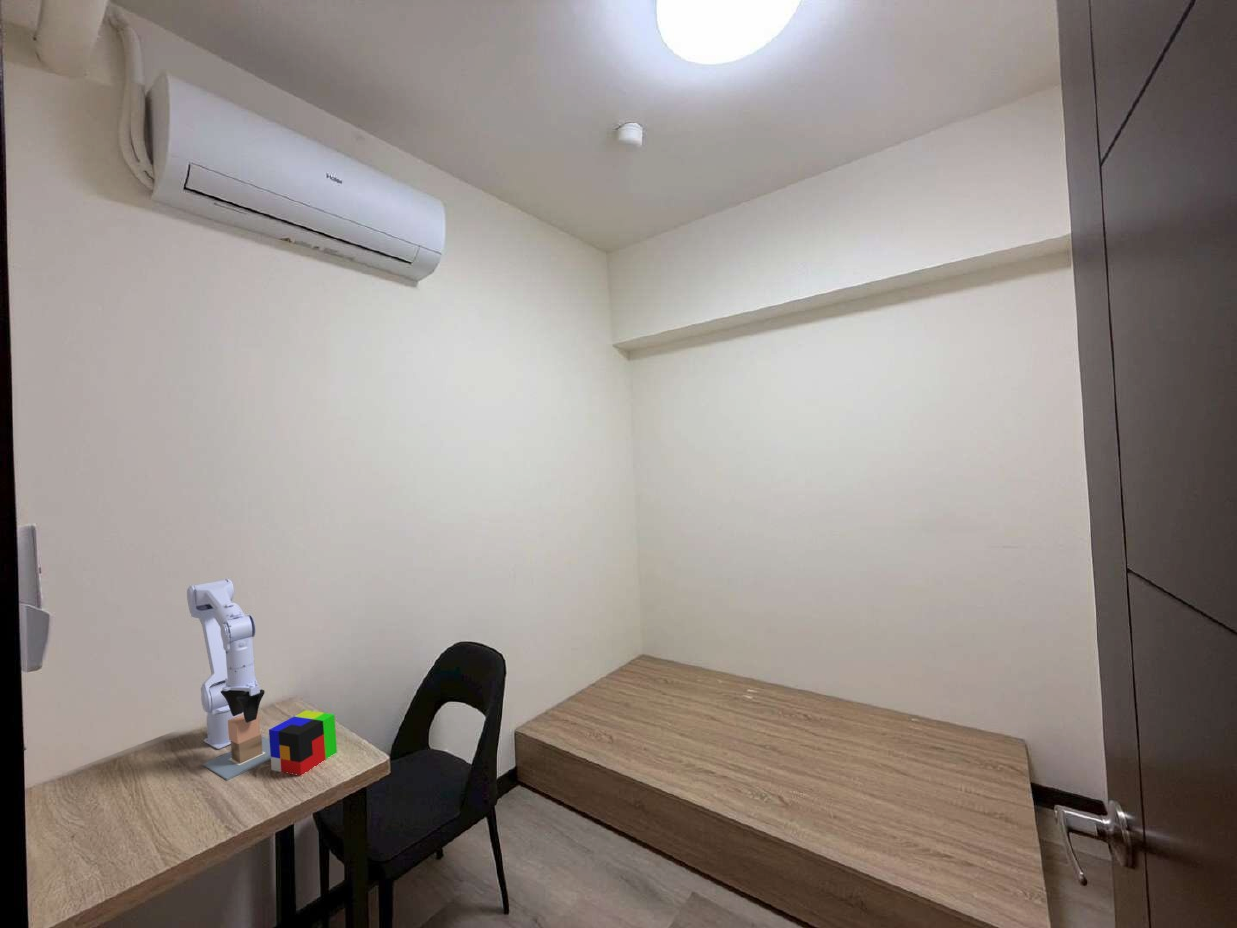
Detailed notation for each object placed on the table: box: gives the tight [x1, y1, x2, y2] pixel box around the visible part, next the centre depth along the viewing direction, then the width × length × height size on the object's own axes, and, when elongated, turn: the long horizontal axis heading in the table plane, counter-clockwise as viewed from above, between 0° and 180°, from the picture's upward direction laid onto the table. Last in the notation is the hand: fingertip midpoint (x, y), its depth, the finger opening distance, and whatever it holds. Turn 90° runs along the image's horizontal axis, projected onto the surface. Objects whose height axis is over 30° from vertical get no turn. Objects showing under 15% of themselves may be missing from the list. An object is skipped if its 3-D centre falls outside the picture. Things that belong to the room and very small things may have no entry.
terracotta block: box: [228, 714, 261, 744], centre depth 133 cm, size 5×5×5 cm
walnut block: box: [230, 733, 263, 764], centre depth 133 cm, size 5×5×5 cm
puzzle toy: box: [268, 710, 338, 776], centre depth 130 cm, size 10×10×10 cm
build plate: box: [202, 736, 271, 781], centre depth 133 cm, size 14×14×1 cm
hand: (244, 717), depth 133 cm, fingers open, 7 cm apart
